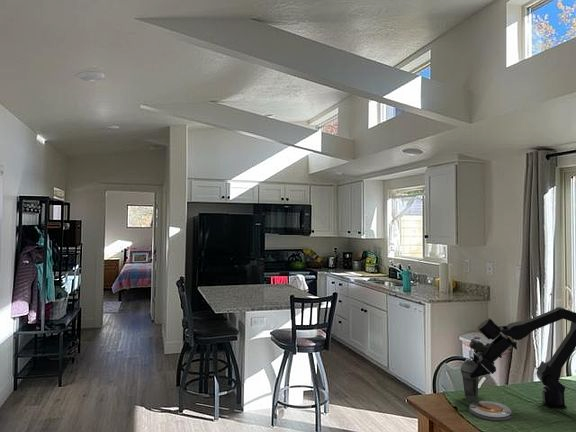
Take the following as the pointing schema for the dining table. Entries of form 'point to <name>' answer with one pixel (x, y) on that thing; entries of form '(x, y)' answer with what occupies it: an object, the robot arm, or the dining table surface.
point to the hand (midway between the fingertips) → (469, 373)
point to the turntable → (490, 409)
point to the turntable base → (491, 418)
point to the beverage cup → (469, 379)
